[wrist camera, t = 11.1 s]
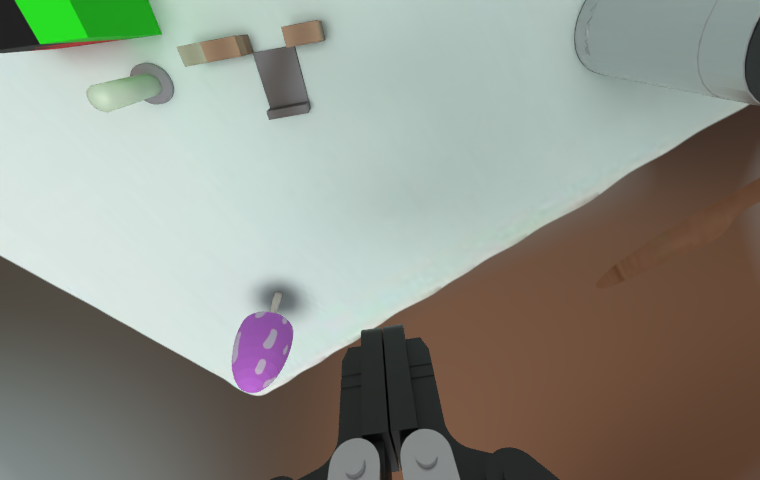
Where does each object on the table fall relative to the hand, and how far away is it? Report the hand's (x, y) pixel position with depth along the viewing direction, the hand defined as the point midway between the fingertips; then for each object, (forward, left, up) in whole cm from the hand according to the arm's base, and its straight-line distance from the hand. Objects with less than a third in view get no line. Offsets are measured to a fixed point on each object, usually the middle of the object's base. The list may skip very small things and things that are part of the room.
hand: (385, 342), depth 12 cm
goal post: (+20, -8, -29) cm, 36 cm away
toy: (+17, +21, -29) cm, 40 cm away
